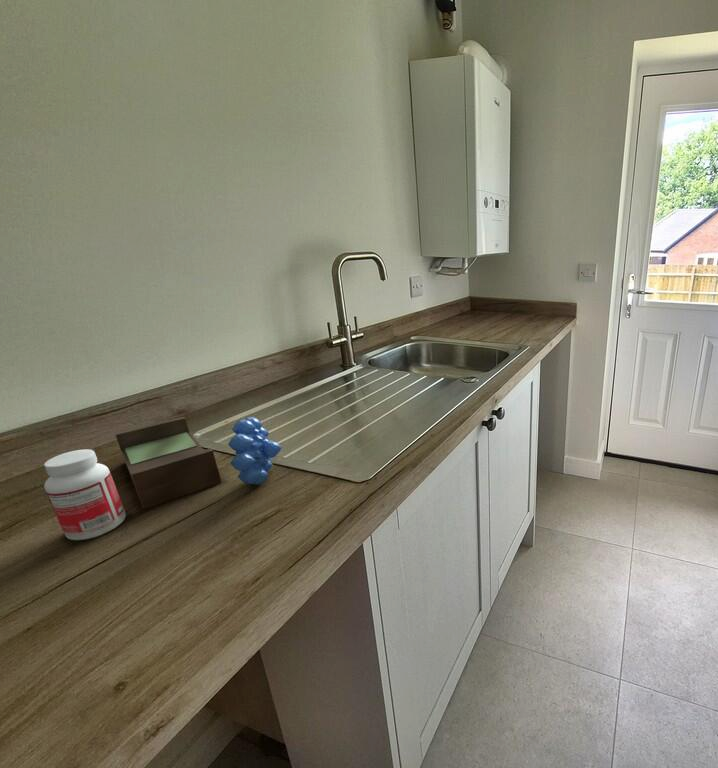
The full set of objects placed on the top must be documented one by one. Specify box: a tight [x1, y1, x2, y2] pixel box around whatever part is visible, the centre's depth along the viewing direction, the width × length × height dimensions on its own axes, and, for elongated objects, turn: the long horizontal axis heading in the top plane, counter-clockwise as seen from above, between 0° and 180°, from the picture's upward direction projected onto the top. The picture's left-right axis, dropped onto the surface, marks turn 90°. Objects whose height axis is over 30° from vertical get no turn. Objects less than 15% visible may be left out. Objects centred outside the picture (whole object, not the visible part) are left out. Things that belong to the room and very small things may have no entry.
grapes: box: [227, 416, 283, 486], centre depth 66 cm, size 12×7×12 cm, turn 16°
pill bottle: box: [43, 448, 127, 541], centre depth 56 cm, size 6×6×11 cm
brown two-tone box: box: [114, 416, 222, 510], centre depth 70 cm, size 10×21×6 cm, turn 48°
